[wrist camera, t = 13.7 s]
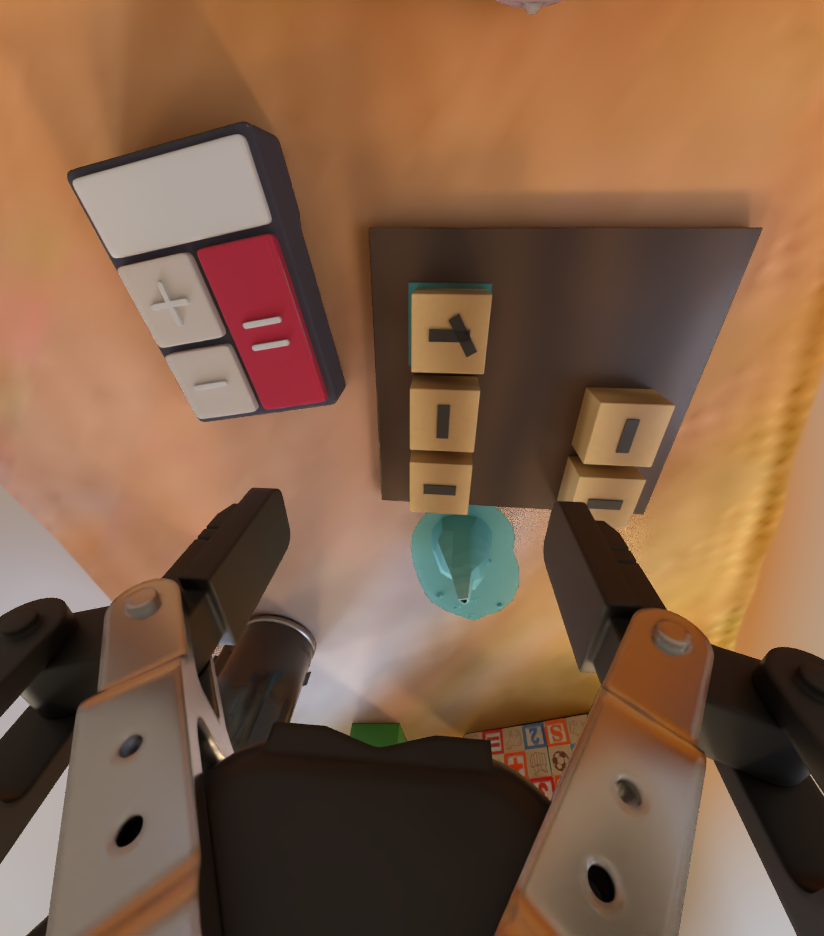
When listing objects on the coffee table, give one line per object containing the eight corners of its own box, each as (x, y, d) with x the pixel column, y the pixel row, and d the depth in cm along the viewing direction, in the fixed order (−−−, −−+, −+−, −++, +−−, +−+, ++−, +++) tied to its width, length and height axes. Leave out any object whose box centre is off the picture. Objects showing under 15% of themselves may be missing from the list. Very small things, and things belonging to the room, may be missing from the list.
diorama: (423, 627, 43) (418, 706, 36) (386, 487, 33) (368, 556, 26) (530, 623, 41) (547, 705, 34) (524, 473, 31) (547, 542, 24)
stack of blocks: (611, 707, 47) (657, 839, 37) (625, 730, 50) (671, 859, 39) (462, 734, 54) (465, 851, 44) (481, 753, 57) (488, 867, 46)
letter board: (383, 493, 33) (375, 522, 29) (371, 228, 23) (356, 224, 19) (638, 507, 31) (661, 540, 28) (751, 228, 21) (811, 224, 17)
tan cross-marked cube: (415, 359, 25) (411, 373, 23) (415, 287, 23) (411, 293, 20) (480, 361, 25) (484, 375, 22) (487, 288, 23) (492, 294, 20)
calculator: (193, 428, 27) (48, 170, 19) (223, 404, 30) (111, 177, 22) (335, 409, 25) (242, 114, 17) (349, 385, 29) (277, 132, 21)
